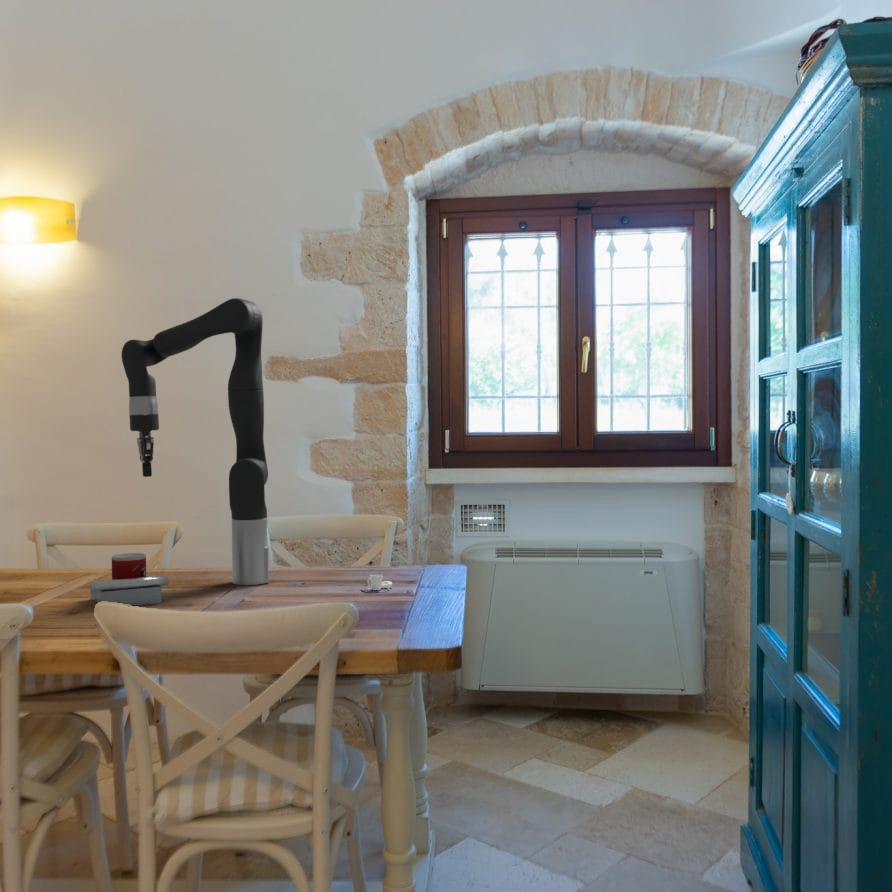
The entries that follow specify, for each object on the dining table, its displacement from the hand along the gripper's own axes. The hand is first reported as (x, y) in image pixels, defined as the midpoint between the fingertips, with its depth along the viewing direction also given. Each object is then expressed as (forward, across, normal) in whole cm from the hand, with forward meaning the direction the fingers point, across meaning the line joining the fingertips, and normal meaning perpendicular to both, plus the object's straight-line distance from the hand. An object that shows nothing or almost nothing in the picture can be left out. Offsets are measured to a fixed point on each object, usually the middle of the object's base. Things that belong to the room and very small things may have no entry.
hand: (147, 476), depth 243 cm
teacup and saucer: (+32, +45, +51) cm, 75 cm away
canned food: (+29, +28, -9) cm, 41 cm away
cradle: (+28, +29, -10) cm, 42 cm away
